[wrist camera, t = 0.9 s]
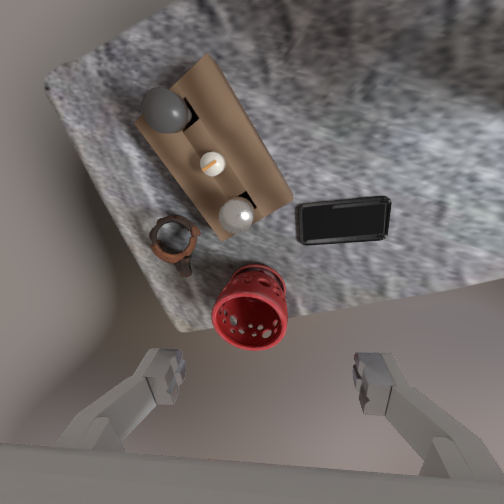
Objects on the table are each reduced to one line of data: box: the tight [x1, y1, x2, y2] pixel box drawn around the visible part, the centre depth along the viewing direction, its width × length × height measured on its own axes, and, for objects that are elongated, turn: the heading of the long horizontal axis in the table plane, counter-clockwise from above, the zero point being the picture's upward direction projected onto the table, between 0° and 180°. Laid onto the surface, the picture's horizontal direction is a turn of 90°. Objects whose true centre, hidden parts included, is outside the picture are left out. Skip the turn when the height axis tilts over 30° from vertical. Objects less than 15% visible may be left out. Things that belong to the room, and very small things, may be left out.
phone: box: [299, 196, 391, 245], centre depth 43 cm, size 8×1×15 cm
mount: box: [134, 54, 293, 242], centre depth 38 cm, size 14×22×5 cm, turn 34°
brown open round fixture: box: [149, 215, 201, 277], centre depth 46 cm, size 12×9×8 cm
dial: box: [200, 151, 226, 176], centre depth 35 cm, size 3×3×3 cm
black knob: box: [142, 87, 192, 133], centre depth 31 cm, size 5×5×7 cm
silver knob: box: [219, 197, 255, 234], centre depth 36 cm, size 5×5×7 cm
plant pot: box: [212, 264, 288, 351], centre depth 46 cm, size 13×13×12 cm
